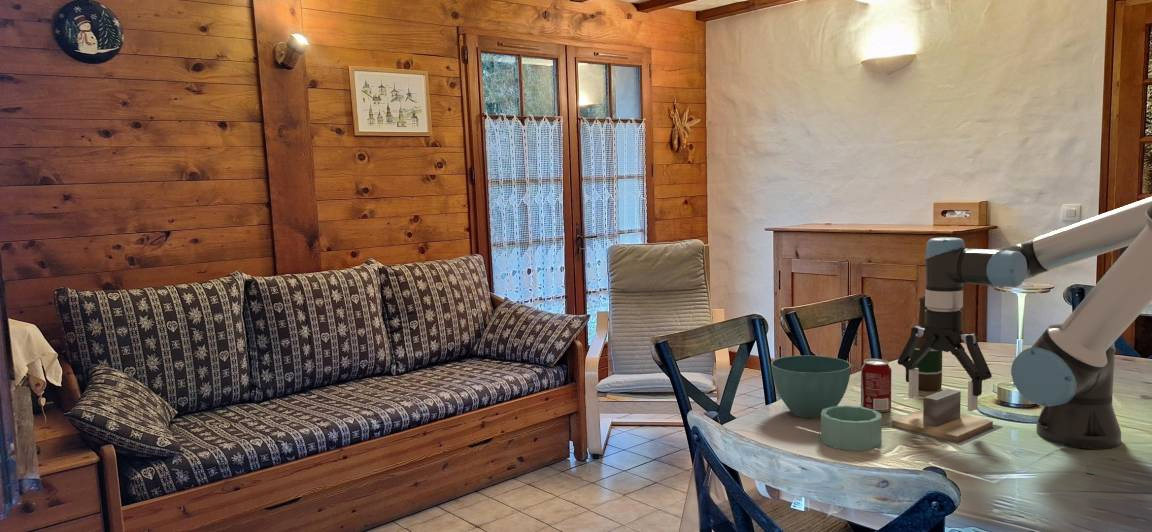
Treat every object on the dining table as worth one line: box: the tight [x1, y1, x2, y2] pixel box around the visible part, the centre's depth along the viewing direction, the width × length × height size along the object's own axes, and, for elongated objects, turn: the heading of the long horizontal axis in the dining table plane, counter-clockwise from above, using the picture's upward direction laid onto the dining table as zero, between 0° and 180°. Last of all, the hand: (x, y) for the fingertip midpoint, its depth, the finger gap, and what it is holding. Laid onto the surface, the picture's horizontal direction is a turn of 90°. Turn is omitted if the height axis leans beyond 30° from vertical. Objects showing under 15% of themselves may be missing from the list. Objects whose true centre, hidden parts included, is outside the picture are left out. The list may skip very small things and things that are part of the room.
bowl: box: [820, 404, 883, 452], centre depth 171 cm, size 12×12×6 cm
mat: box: [882, 421, 1003, 446], centre depth 178 cm, size 18×18×1 cm
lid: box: [891, 388, 994, 442], centre depth 178 cm, size 15×15×7 cm
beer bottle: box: [909, 296, 943, 392], centre depth 210 cm, size 8×8×24 cm
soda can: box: [860, 358, 892, 414], centre depth 192 cm, size 7×7×12 cm
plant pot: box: [770, 354, 852, 419], centre depth 191 cm, size 18×18×12 cm
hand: (942, 403), depth 178 cm, fingers open, 13 cm apart
